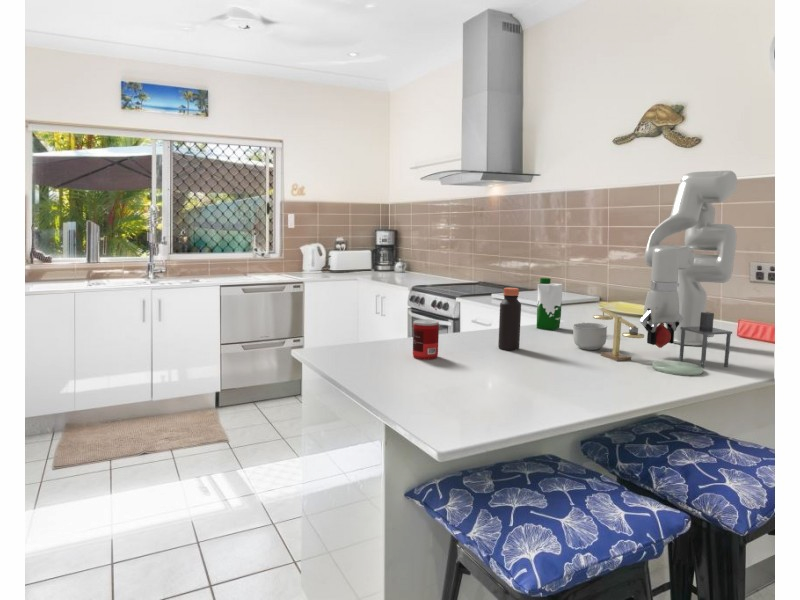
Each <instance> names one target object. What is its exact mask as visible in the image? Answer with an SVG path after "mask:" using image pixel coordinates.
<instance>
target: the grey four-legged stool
mask: <svg viewBox="0 0 800 600" xmlns="http://www.w3.org/2000/svg"><path fill="white" fill-rule="evenodd" d="M714 317H715V313H714V312H710V311H709V312H708V311H705V312H701V318H700V326H698V327H681V328H680V329H682V332H681V344H679V345H680V347H679V348H680V349H679V357H678V358H679V359H678V361H681V362H684V352H685V351H684V350H685V349H684V348H685V345H684V340H685V330H687V331H691V332H695V333H699V334H703V343H702V346H701V347H702V348H701V356H700V359H701V360H700V366H701V367H703V370H704V369H705V363H706V361H707V360H706V359H707V358H706V357H707V349H708V348H707V347H708V346H707V345H708V344H707V341H708V338H709V337H708V335H714V336H715V335H726V338H725V349H724V350H725V351H724V361H723V367H724V368H728V367H729V358H730V357H729V356H730V346H731V336H732V334H733V331H731V330H725V329H722V328H717V327H713V326H714Z"/></svg>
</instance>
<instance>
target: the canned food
mask: <svg viewBox="0 0 800 600" xmlns="http://www.w3.org/2000/svg"><path fill="white" fill-rule="evenodd" d="M412 325H413V326H412V357H413V358H415V359H418V360H434V359H437V357H438V355H439V335H440V334H439V333H440V331H439V330H440V329H439V328H440V327H439V326H440V321H439V320H435V319H425V318H424V319H423V318H422V319H416V320H413V324H412Z"/></svg>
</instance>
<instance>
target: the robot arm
mask: <svg viewBox="0 0 800 600" xmlns="http://www.w3.org/2000/svg"><path fill="white" fill-rule="evenodd" d="M737 185H738V177H737V174H736V173H735V172H734V171H732V170H711V171H710V170H709V171H708V170H707V171H693V172H689V173H686V174H683V176H681V178H680V183H679V184H678V187H677V190H676V195H675V196H674V200H673V203H672V208H671V211H670V216H669V217H668V218H665V219H664V220H663V221H662V222H661V223H659V224H658V225H657V226H656V227H655V228H654V229H653V231H652V232H651V233H650V235H649V237H648V241H647V243H646V247H645V251H644V263H645V264H646V266H647V267H649V268H651V277H650V290H647V294H646V297H645V302H644V308H643V316H641V318H640V320H639V322H640V324H641V325H642V326H643V328H644V329H645V331H646V332H647V337H646V342H647V344H648V345H649V344H650V345H652V346H656V345H655V344H656V332H655V330H656V327H657V326H658V325H660V324H661V323H664V324H665V325H666V326H665V327H666V328H667V329H668V330H669V331H670V334H671V340H670V341H669V343H668V344H677V345H680V344H681V332H682V329H680V328H681V327H698V326H700V318H701V312H706V306H707V296H708V295H707V291H706V289H705V288H704V287H703V285H702V284H701V283H713V284H714V283H717V284H719V283H720V284H724V283H728V282H729V281H730V279H731V278H732V275H733V274H732V273H733V269H734V262H735V255H736V254H735V253H736V247H737V237H738V235H737V230H736V228H735V227H734V225H732V224H730V223H729V224H728V223H715V219H716V218H715V217H716V208H715V207H714V205H713V204H717V203H718V204H719V203H723V202H725V201H726V200H728V199H729V198H730V197H731V196H732V195H733V194H734V193H735V192H736V189H737ZM683 231H684V232H685V233H684V245H673V244H671V245H670V244H662V242H663V241H664V240H665V239H667V238H669V237H670V236H672V235H676V234H677V233H680V232H683ZM694 251H698V252H701V251H702V252H717V253H718V254H704V253H694ZM713 337H715V334H714V335H708V337H707V338H713ZM702 343H703V334H699V333H695V332H691V331H687V330H685V340H684V346H695V347H697V346H699V347H700V346H701V347H702ZM708 344H709V342H708V340H707V345H708Z"/></svg>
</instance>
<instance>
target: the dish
mask: <svg viewBox="0 0 800 600" xmlns="http://www.w3.org/2000/svg"><path fill="white" fill-rule="evenodd" d="M652 369H653V370H655V371H657V370H658V371H657V372H660V371H661V373H664V372H665V374H669V373H670V375H675V374H677V376H686V375H694V376H701V375H702V373H703V374H704V369H703V367H701V365H699V364H695V363H691V362H688V361H687V362H686V361H683V362H681V361H679V360H667V359H665V360H656V361H653V362H652ZM700 374H701V375H700Z"/></svg>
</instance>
